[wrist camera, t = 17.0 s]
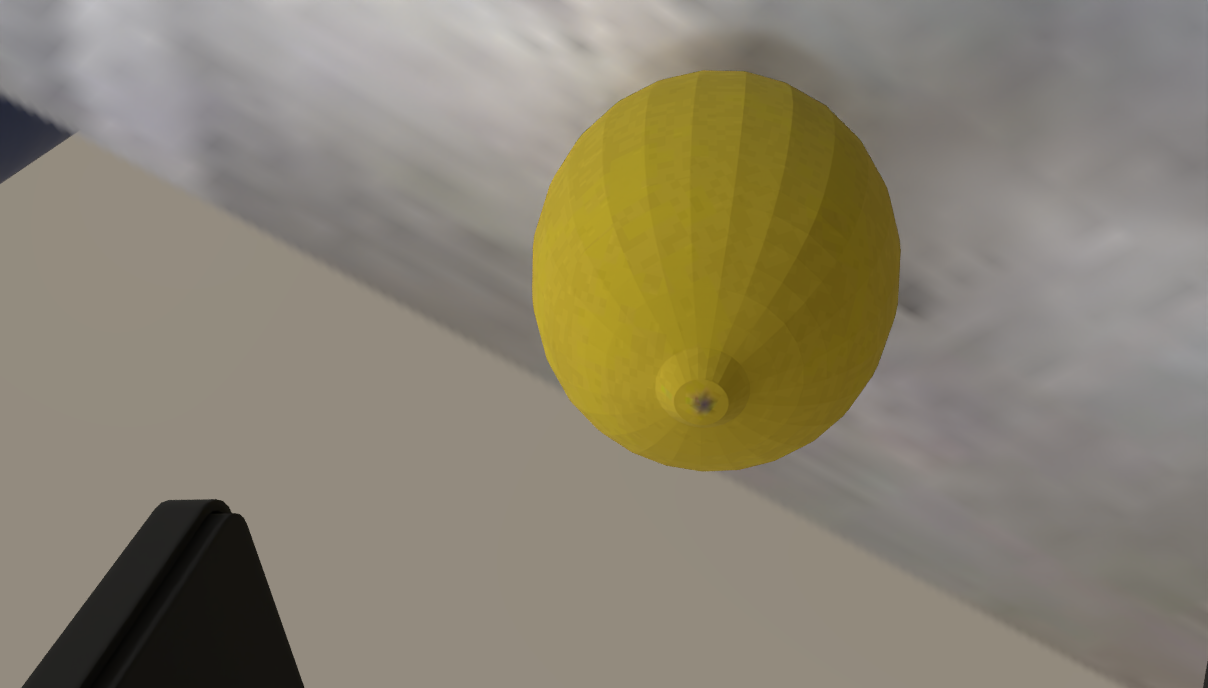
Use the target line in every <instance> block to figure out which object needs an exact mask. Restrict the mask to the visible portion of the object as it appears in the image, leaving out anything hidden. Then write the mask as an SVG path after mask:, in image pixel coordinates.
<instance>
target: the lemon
mask: <svg viewBox="0 0 1208 688" xmlns="http://www.w3.org/2000/svg"><path fill="white" fill-rule="evenodd" d="M900 253H901V249H900V239H899V235H898V230H897V226H896V222H895V218H894V213H893V209H892V205H891V201H890V197H889V193H888V190H887V187H886V185H885V183H884V181H883V179H882V177H881V176H880V174H879V172H878V170H877V168H876V167H875V165H874V163H873V161H872V160H871V158H870V156H869V154H868V152H867V151H866V149H865V147H864V145H863V144H862V142H861V141H860V139H859V138H858V137H857V136H856V135H855V134H854V133H853V132H852V131H851V130H850V129H849V128H848V127H847V126H846V125H845V124H844V123H843V122H842V121H841V120H840V119H839V118H838V117H837V116H836V115H835V114H834V113H833V112H832V111H831V110H830V109H829V108H828V107H827V106H825V105H824V104H822V103H820V102H818V101H817V100H815V99H813V98H811V97H810V96H808V95H806V94H804V93H803V92H801V91H799V90H798V89H796V88H794V87H792V86H791V85H789V84H787V83H785V82H781V81H778V80H774V79H771V78H767V77H764V76H760V75H756V74H753V73H749V72H746V71H705V70H703V71H698V72H694V73H689V74H685V75H681V76H676V77H672V78H667V79H663V80H660V81H657V82H655V83H653V84H651V85H649V86H647V87H645V88H643V89H642V90H640V91H638V92H636V93H634V94H632V95H630V96H628V97H626V98H624V99H622V100H620V101H619V102H617V103H616V104H615V105H614V106H613V107H612V108H611V109H609V110H608V111H607V112H606V113H605V114H604V115H603V116H602V117H601V118H599V119H598V120H597V121H596V122H595V123H594V124H593V125H592V126H591V127H589V128H588V129H587V130H586V131H585V132H584V133H583V134H582V135H581V136H580V138H579V139H578V140H577V142H576V143H575V145H574V146H573V148H572V150H571V151H570V153H569V154H568V156H567V157H566V159H565V160H564V162H563V164H562V165H561V167H560V168H559V170H558V171H557V173H556V174H555V176H554V178H553V180H552V182H551V184H550V186H549V189H548V193H547V196H546V199H545V202H544V206H543V209H542V212H541V215H540V218H539V222H538V225H537V228H536V232H535V235H534V243H533V277H532V299H533V307H534V313H535V316H536V320H537V324H538V328H539V331H540V335H541V339H542V343H543V346H544V350H545V354H546V358H547V360H548V362H549V364H550V366H551V368H552V370H553V371H554V373H555V375H556V377H557V378H558V380H559V382H560V384H561V385H562V387H563V389H564V391H565V392H566V394H567V396H568V398H569V399H570V401H571V402H572V403H573V404H574V405H575V406H576V407H577V408H578V409H579V411H580V412H581V413H582V414H583V415H584V416H585V417H586V418H587V419H588V420H589V421H590V422H591V423H592V424H593V425H594V426H595V427H596V428H597V429H598V430H599V431H601V432H602V433H603V434H605V435H606V436H608V437H609V438H611V439H612V440H614V441H615V442H617V443H618V444H620V445H622V446H623V447H625V448H626V449H628V450H629V451H631V452H632V453H635V454H638V455H640V456H643V457H645V458H648V459H651V460H653V461H656V462H658V463H661V464H664V465H666V466H672V467H678V468H684V469H690V470H697V471H723V470H740V469H744V468H748V467H752V466H756V465H760V464H764V463H768V462H772V461H775V460H777V459H779V458H781V457H783V456H785V455H787V454H789V453H791V452H793V451H795V450H797V449H799V448H801V447H803V446H805V445H807V444H809V443H811V442H813V441H814V440H816V439H817V438H818V437H819V436H820V435H821V434H823V433H824V432H825V431H826V430H827V429H828V428H830V427H831V426H832V425H833V424H834V423H836V422H837V421H838V420H839V419H840V418H841V417H843V416H844V414H845V413H846V412H847V411H848V410H849V408H850V407H851V406H852V404H853V403H854V401H855V400H856V399H857V397H858V396H859V394H860V393H861V391H862V390H863V389H864V387H865V386H866V384H867V383H868V382H869V380H870V379H871V377H872V376H873V374H874V372H875V370H876V368H877V366H878V364H879V361H880V358H881V355H882V352H883V350H884V347H885V344H886V341H887V338H888V335H889V333H890V330H891V327H892V324H893V321H894V318H895V315H896V310H897V305H898V292H899V272H900Z"/></svg>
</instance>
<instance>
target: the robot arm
mask: <svg viewBox="0 0 1208 688" xmlns="http://www.w3.org/2000/svg"><path fill="white" fill-rule="evenodd" d="M22 688H304V685H303V682H302V680H301V677H300V674H299V671H298V668H297V665H296V662H295V659H294V657H293V654H292V651H291V648H290V645H289V642H288V640H287V637H286V634H285V631H284V628H283V625H282V622H281V620H280V617H279V614H278V611H277V608H276V605H275V602H274V600H273V597H272V594H271V591H270V588H269V585H268V583H267V580H266V577H265V574H264V571H263V569H262V565H261V563H260V560H259V557H258V554H257V551H256V548H255V546H254V543H253V540H252V537H251V534H250V532H249V528H248V526H247V523H246V522H245V519H244V518H243V517H242V516H241V515H240V514H236V513H231V511H230V509H229V507H228V506H227V505H226V504H225V503H224V502H223V501H221V500H217V499H215V500H214V499H211V500H168V501H165V502H162V503H161V504H160V505H159V506H158V507H157V508H155V510H154V511H153V512H152V514H151V515H150V516H149V518H148V519H147V521H146V522H145V523H144V524H143V526H142V527H141V529H140V530H139V531H138V532H137V534H136V535H135V537H134V538H133V539H132V540H131V542H130V543H129V544H128V546H127V547H126V548H125V550H124V551H123V552H122V554H121V555H120V557H119V558H118V559H117V561H116V562H115V563H114V565H113V566H112V567H111V569H110V570H109V571H108V572H107V574H106V575H105V576H104V578H103V579H102V581H101V582H100V583H99V585H98V586H97V587H96V589H95V590H94V591H93V593H92V594H91V595H90V597H89V598H88V600H87V601H86V602H85V603H84V605H83V606H82V607H81V609H80V610H79V611H78V613H77V614H76V615H75V617H74V618H73V619H72V621H71V622H70V623H69V625H68V626H67V627H66V629H65V630H64V632H63V633H62V634H61V635H60V637H59V638H58V640H57V641H56V642H55V644H54V645H53V646H52V647H51V649H50V650H49V651H48V653H47V654H46V655H45V657H44V658H43V659H42V661H41V662H40V664H39V665H38V666H37V668H36V669H35V670H34V672H33V673H32V674H31V676H30V677H29V678H28V680H27V681H26V682H25V684H24V685H23V686H22ZM1203 688H1208V663H1207V669H1206V674H1205V680H1204V685H1203Z"/></svg>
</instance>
